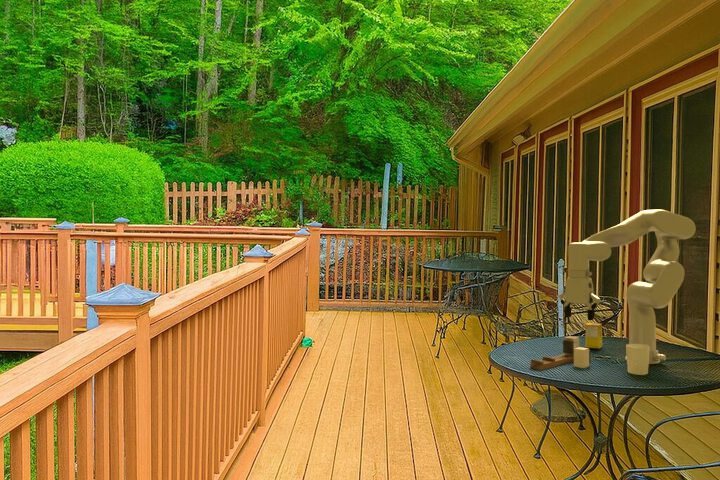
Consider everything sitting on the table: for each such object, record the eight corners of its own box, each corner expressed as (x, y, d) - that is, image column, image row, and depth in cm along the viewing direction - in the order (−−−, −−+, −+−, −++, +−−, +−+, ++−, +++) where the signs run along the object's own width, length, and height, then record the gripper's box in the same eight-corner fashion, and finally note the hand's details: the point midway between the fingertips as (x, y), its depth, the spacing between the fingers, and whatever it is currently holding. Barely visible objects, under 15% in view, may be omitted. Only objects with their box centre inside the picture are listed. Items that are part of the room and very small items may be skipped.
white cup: (648, 376, 211) (648, 348, 211) (624, 373, 216) (624, 346, 215) (650, 371, 218) (650, 344, 218) (627, 369, 222) (627, 343, 222)
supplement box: (602, 347, 262) (602, 323, 262) (599, 350, 257) (599, 325, 257) (588, 346, 266) (588, 322, 265) (585, 348, 261) (585, 324, 260)
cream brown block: (590, 366, 228) (590, 348, 228) (583, 368, 225) (583, 349, 225) (581, 364, 232) (581, 346, 231) (573, 366, 228) (573, 348, 228)
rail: (583, 358, 241) (583, 336, 241) (541, 370, 223) (541, 346, 223) (572, 356, 245) (572, 335, 245) (530, 367, 227) (530, 344, 227)
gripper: (605, 275, 223) (605, 320, 224) (564, 272, 237) (565, 315, 237) (593, 276, 219) (594, 322, 219) (553, 273, 233) (554, 317, 233)
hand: (579, 318), depth 228 cm, fingers open, 9 cm apart
